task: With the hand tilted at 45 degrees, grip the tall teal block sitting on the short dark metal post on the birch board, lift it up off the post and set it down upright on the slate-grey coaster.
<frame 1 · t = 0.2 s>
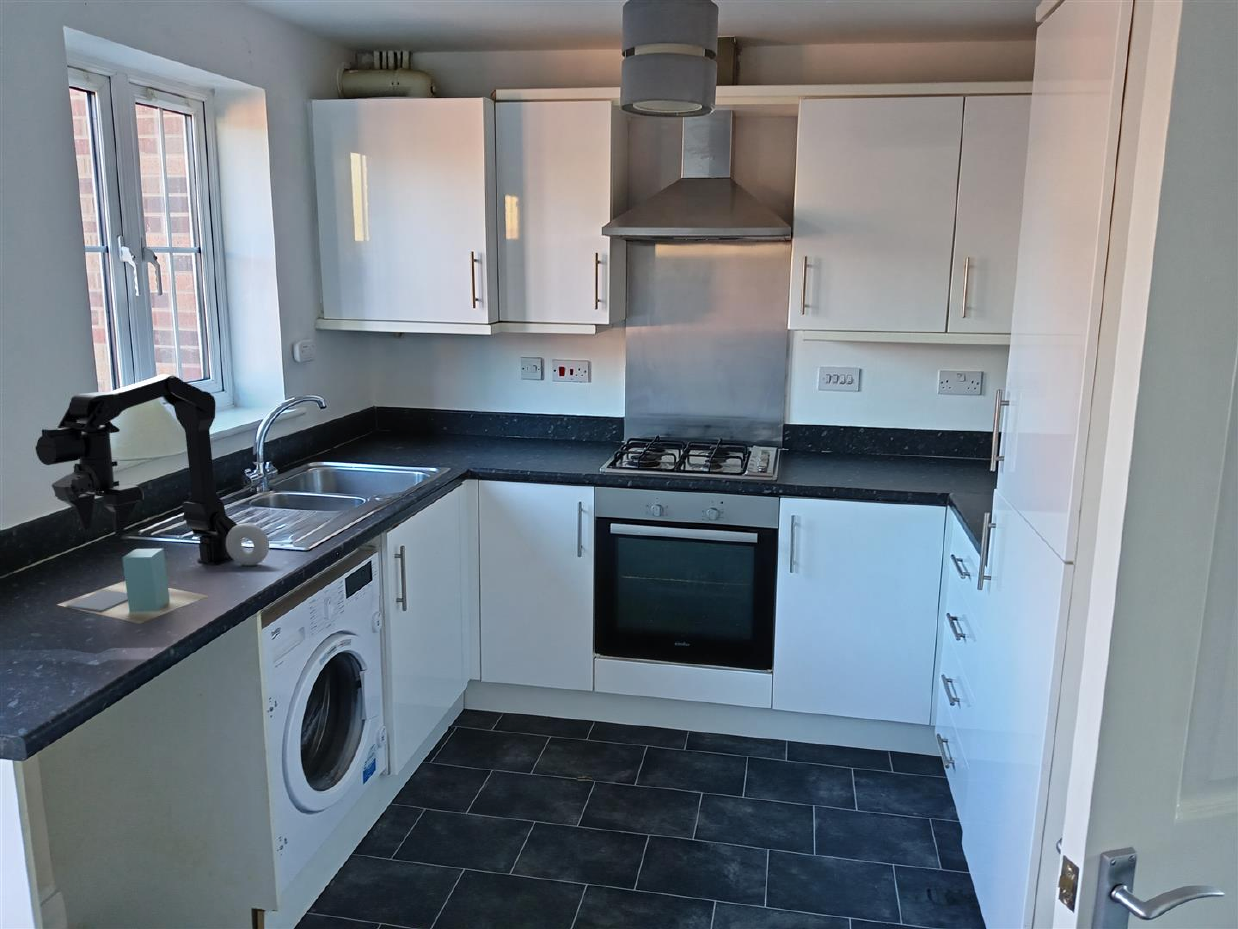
hand: (102, 533, 190), 14 cm above the worktop, tool pointing down, fingers open, 9 cm apart
board: (134, 607, 189), on the worktop
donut: (249, 566, 214), on the worktop
tall teal block: (149, 606, 185), point 1 cm above the worktop, touching board
coaster: (103, 601, 188), resting on board
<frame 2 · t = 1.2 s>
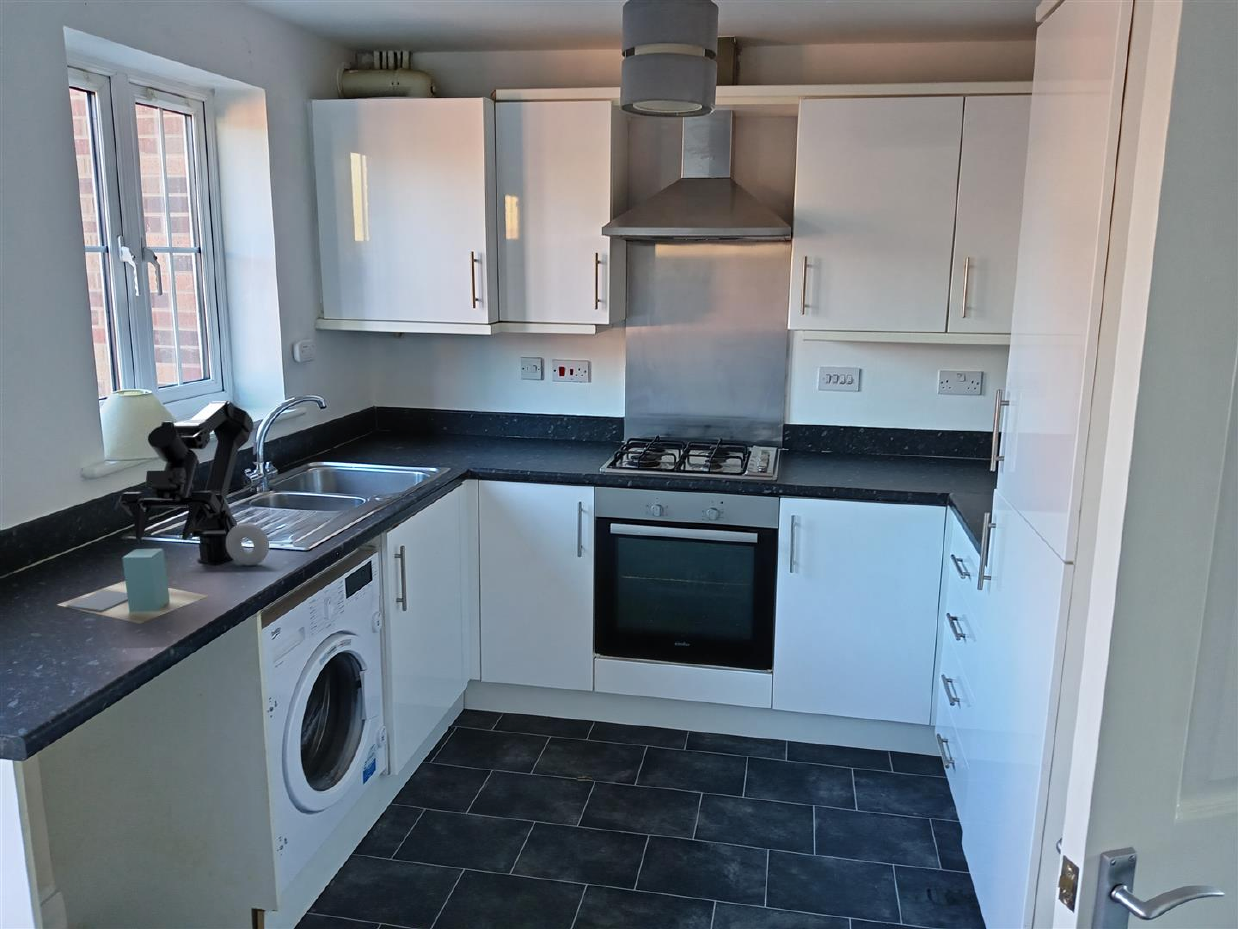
hand: (160, 539, 191), 13 cm above the worktop, tool tilted 45°, fingers open, 9 cm apart
nothing on the worktop moved.
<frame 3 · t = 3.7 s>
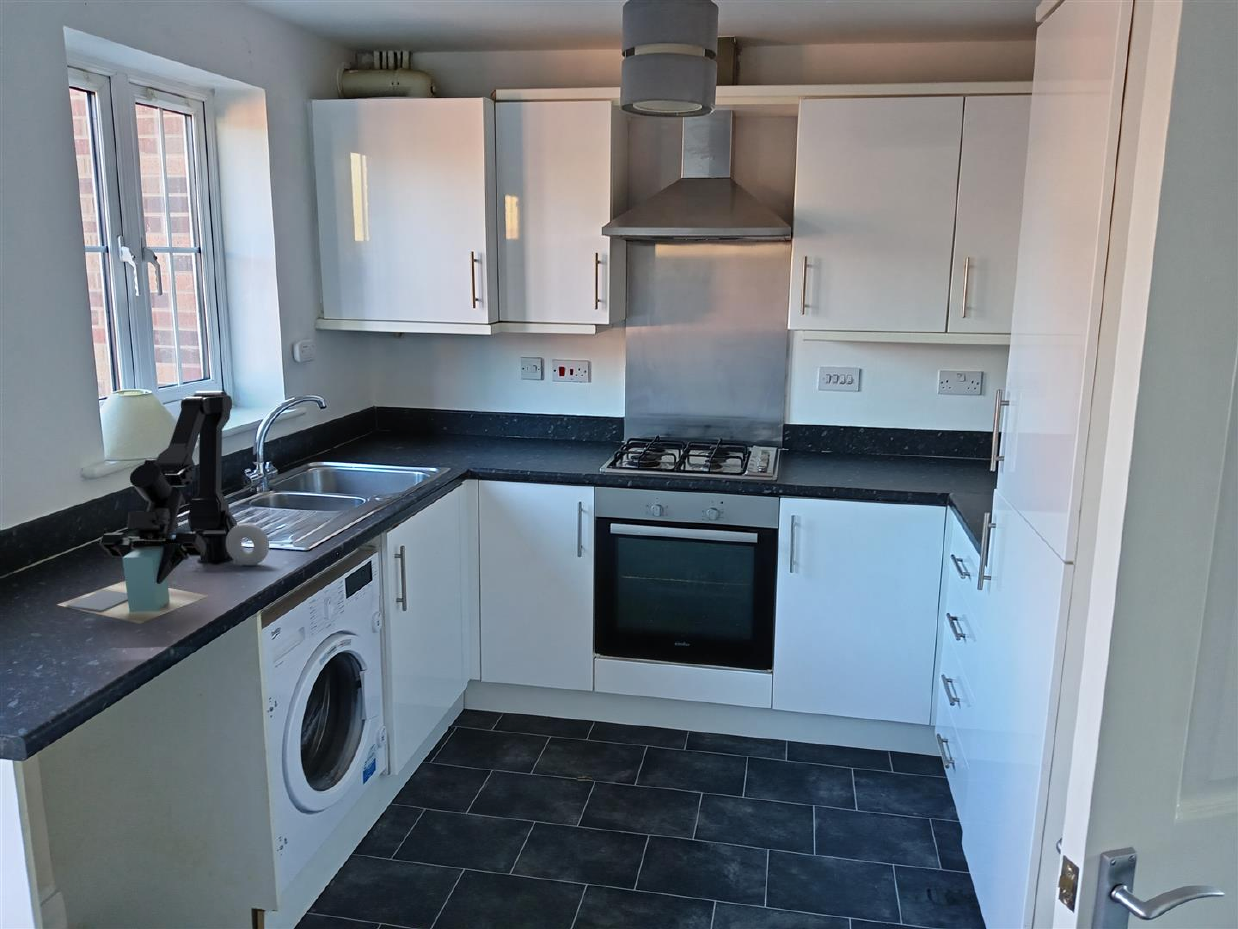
hand: (143, 583, 183), 7 cm above the worktop, tool tilted 45°, fingers closed on tall teal block, 5 cm apart
tall teal block: (149, 606, 185), point 2 cm above the worktop, touching board, gripper
everything else where it was.
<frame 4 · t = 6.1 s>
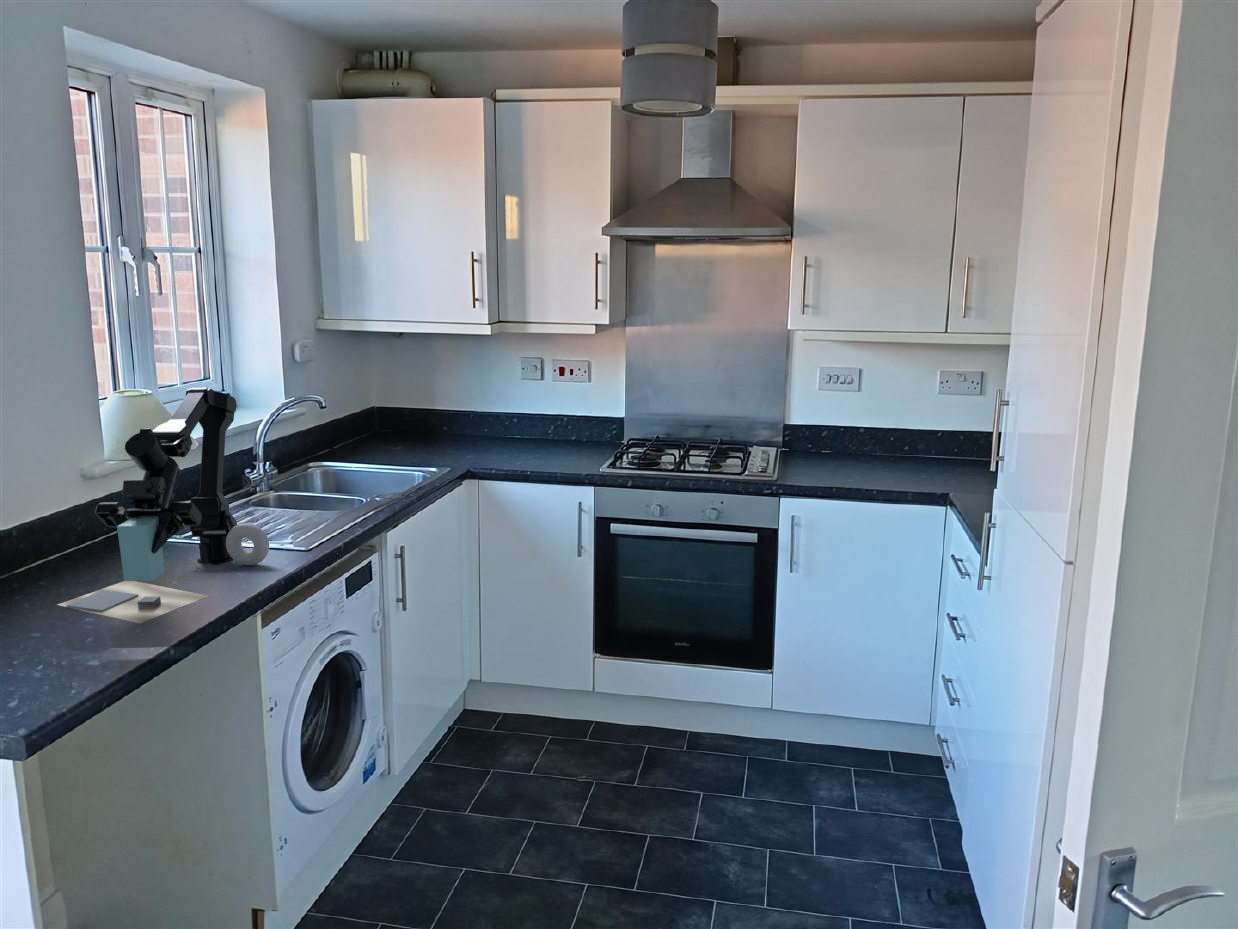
hand: (138, 552, 182), 13 cm above the worktop, tool tilted 45°, fingers closed on tall teal block, 5 cm apart
tall teal block: (145, 576, 184), point 8 cm above the worktop, touching gripper
everything else where it was.
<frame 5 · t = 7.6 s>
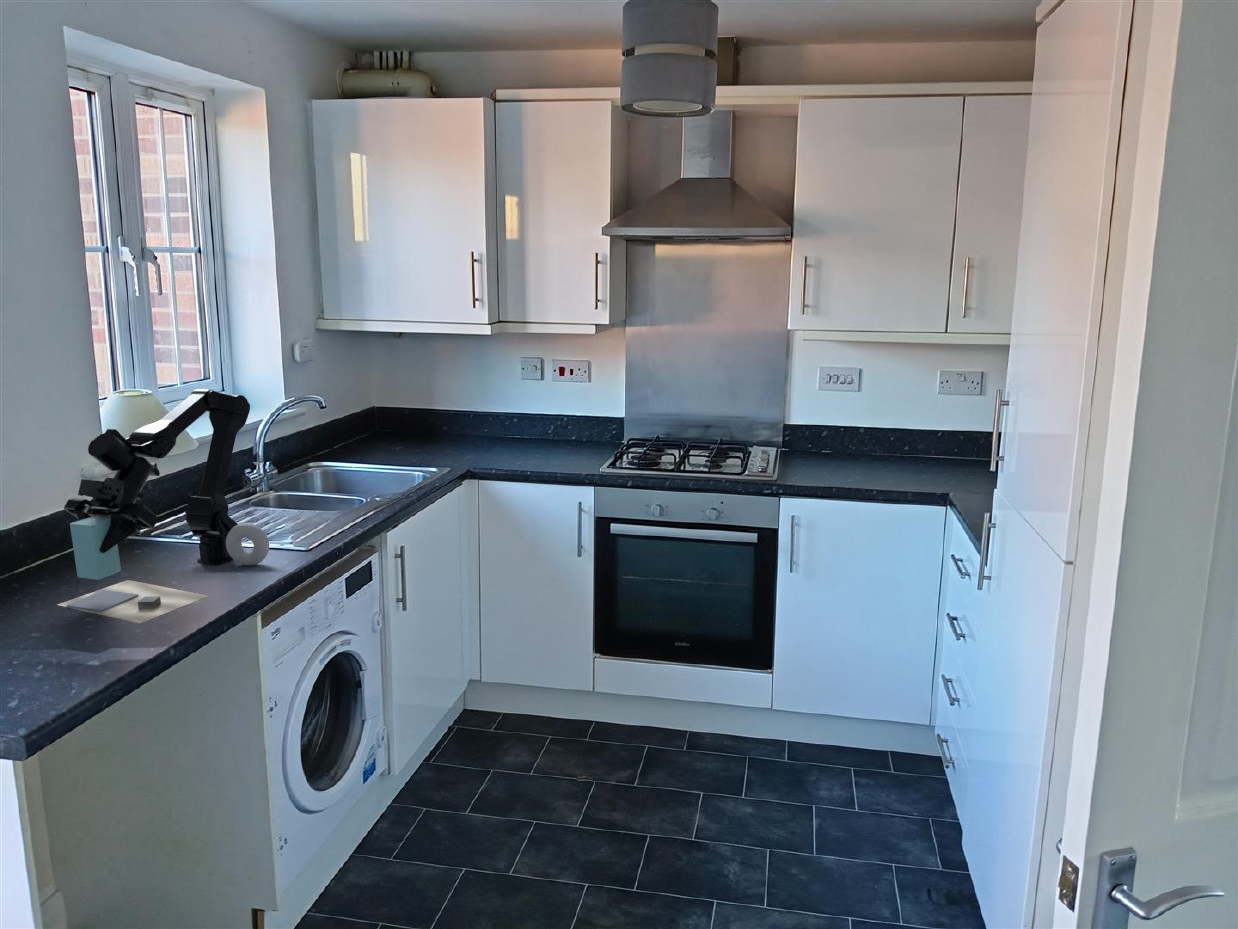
hand: (90, 550, 185), 13 cm above the worktop, tool tilted 45°, fingers closed on tall teal block, 5 cm apart
tall teal block: (99, 574, 187), point 7 cm above the worktop, touching gripper
everything else where it was.
when the fingers open (9 cm above the worktop, at t = 8.8 s): tall teal block drops 1 cm, resting on coaster.
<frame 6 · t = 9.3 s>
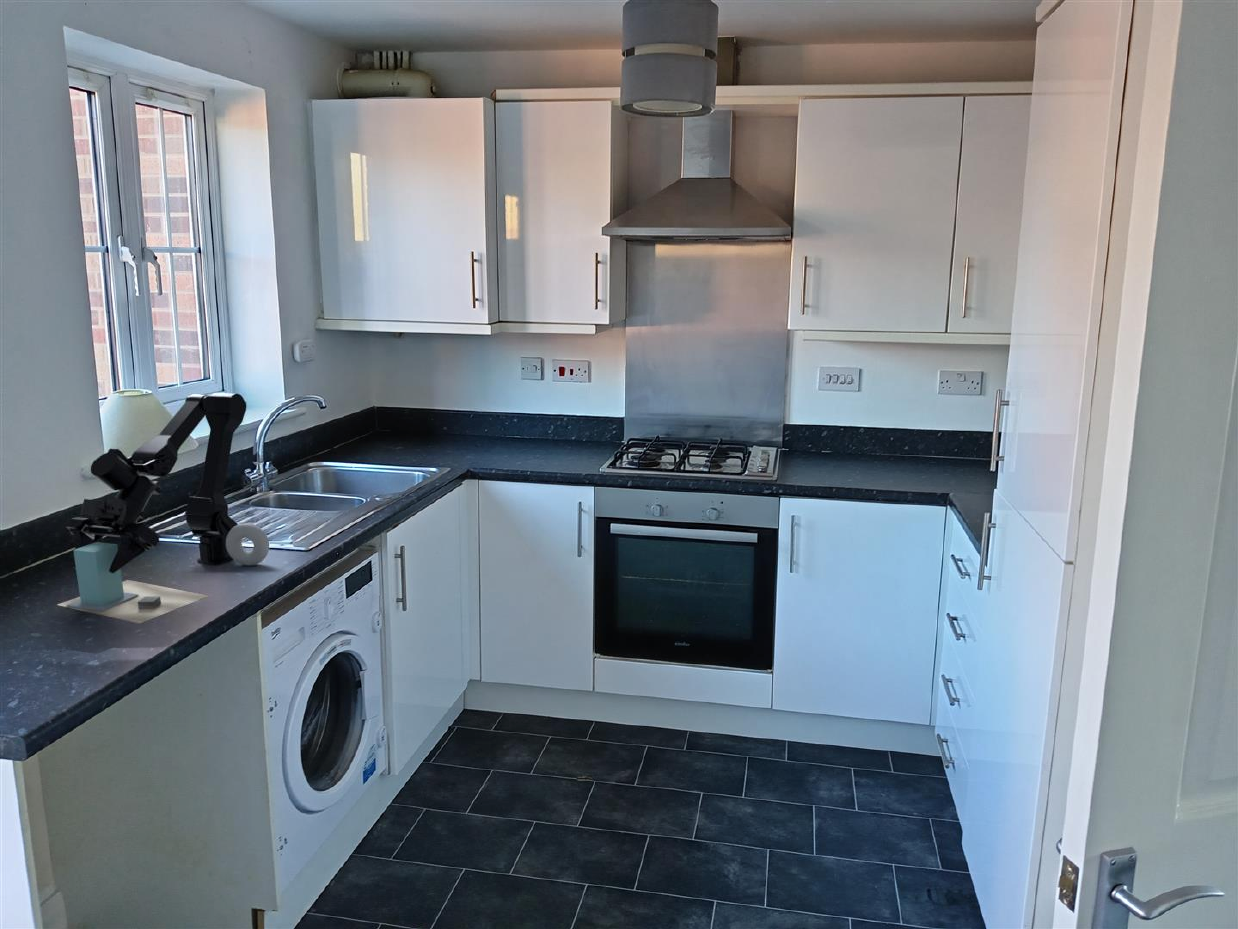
hand: (92, 570, 185), 9 cm above the worktop, tool tilted 45°, fingers open, 9 cm apart
tall teal block: (102, 599, 188), point 2 cm above the worktop, touching coaster
everything else where it was.
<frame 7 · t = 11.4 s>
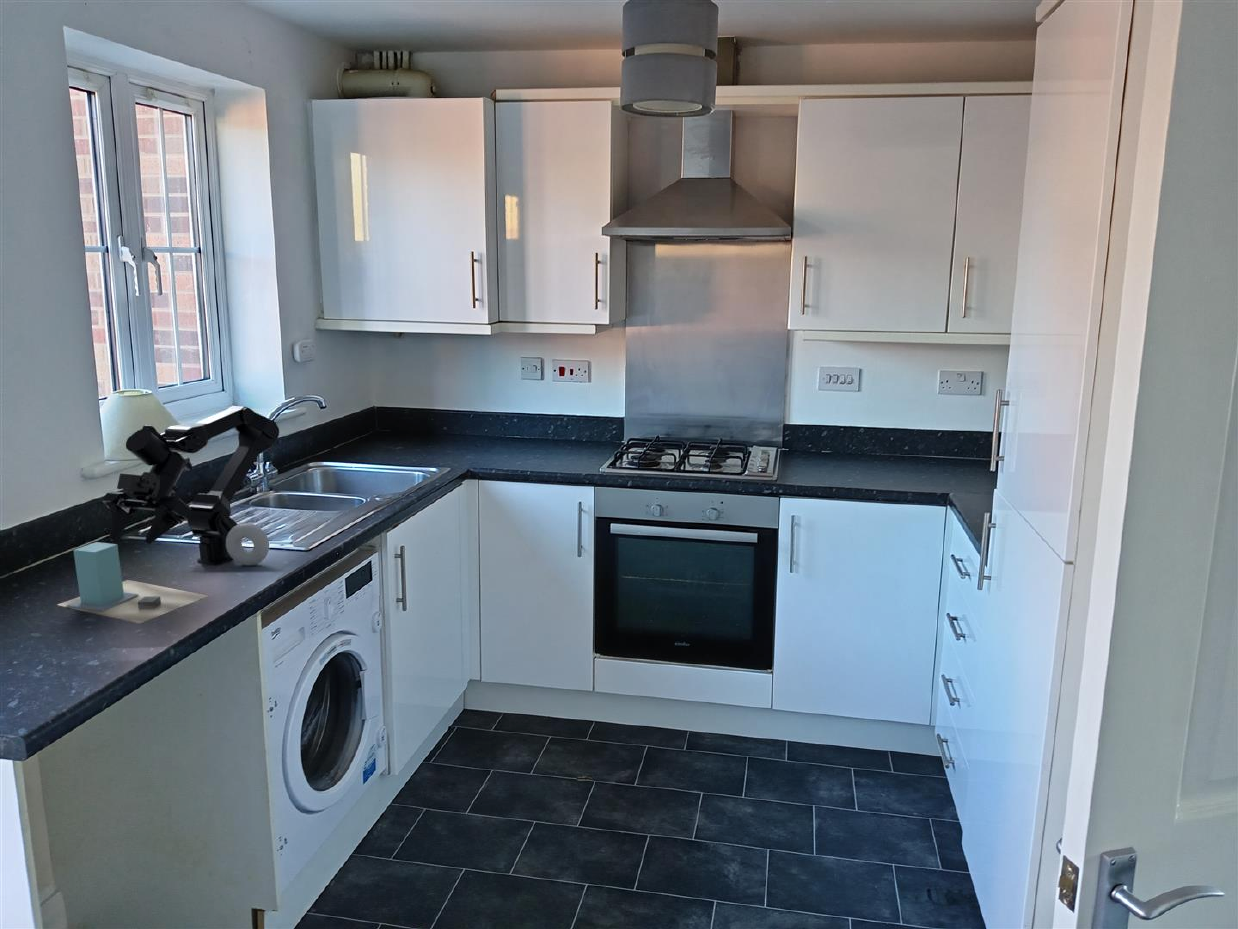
hand: (128, 541, 194), 12 cm above the worktop, tool tilted 45°, fingers open, 9 cm apart
nothing on the worktop moved.
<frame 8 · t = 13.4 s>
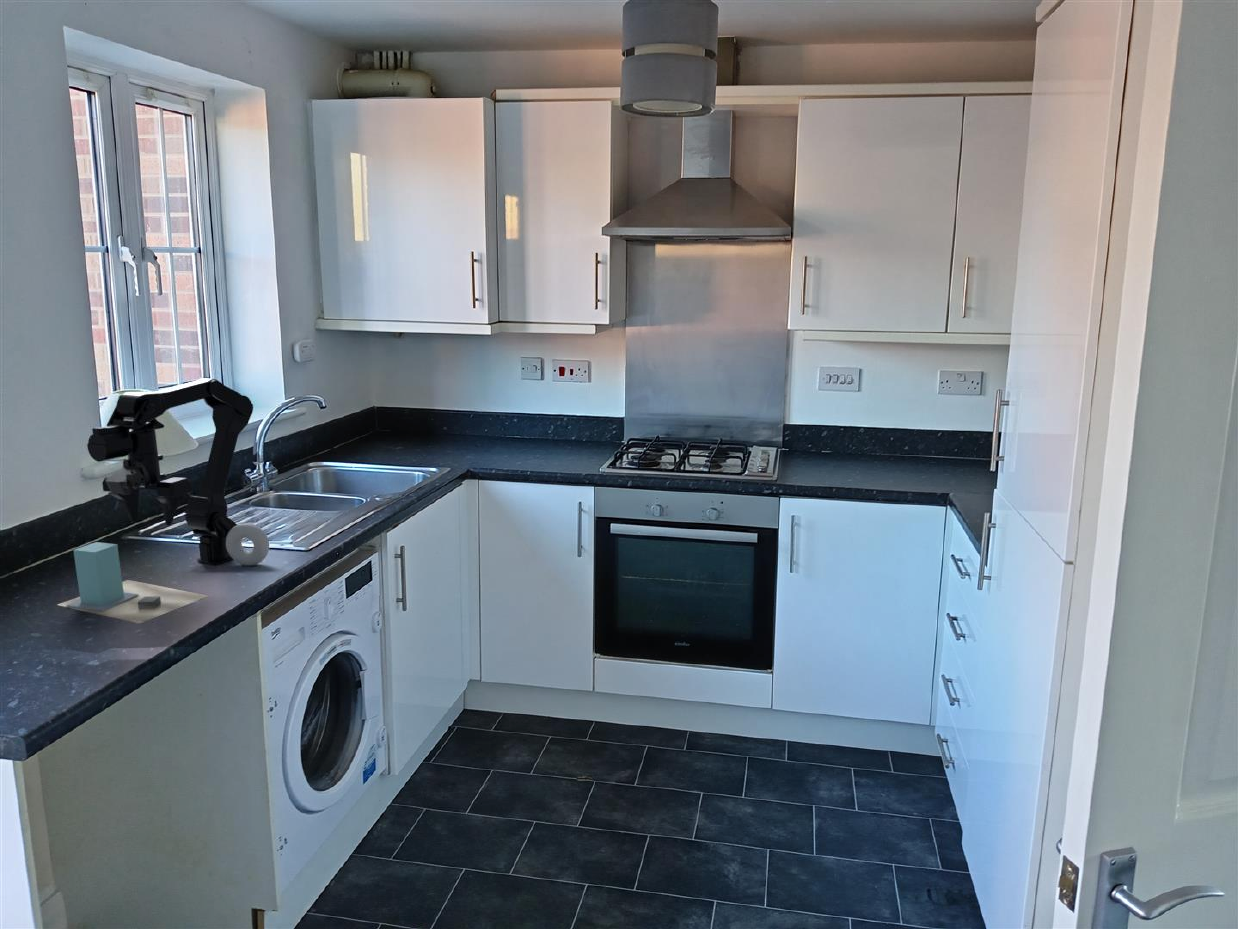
hand: (151, 523, 202), 13 cm above the worktop, tool pointing down, fingers open, 9 cm apart
nothing on the worktop moved.
at the end: tall teal block 0.0 cm from the coaster (horizontally); tall teal block tilted 0°; the gripper is holding nothing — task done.
